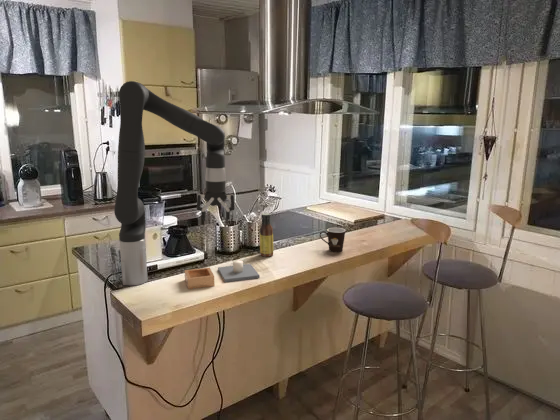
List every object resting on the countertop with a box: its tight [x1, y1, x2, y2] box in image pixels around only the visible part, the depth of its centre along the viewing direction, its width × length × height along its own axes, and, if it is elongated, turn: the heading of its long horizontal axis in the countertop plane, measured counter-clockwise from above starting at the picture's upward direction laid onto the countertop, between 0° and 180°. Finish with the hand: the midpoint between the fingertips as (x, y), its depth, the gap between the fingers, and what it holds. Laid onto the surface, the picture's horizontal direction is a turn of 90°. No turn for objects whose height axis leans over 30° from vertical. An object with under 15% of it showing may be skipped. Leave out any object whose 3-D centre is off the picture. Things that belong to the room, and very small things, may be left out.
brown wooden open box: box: [184, 267, 215, 290], centre depth 168 cm, size 10×10×4 cm
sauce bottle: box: [259, 212, 275, 258], centre depth 199 cm, size 7×6×20 cm
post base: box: [217, 259, 260, 283], centre depth 177 cm, size 14×14×5 cm
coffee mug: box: [319, 227, 347, 253], centre depth 209 cm, size 12×9×10 cm
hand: (215, 220), depth 169 cm, fingers open, 8 cm apart
